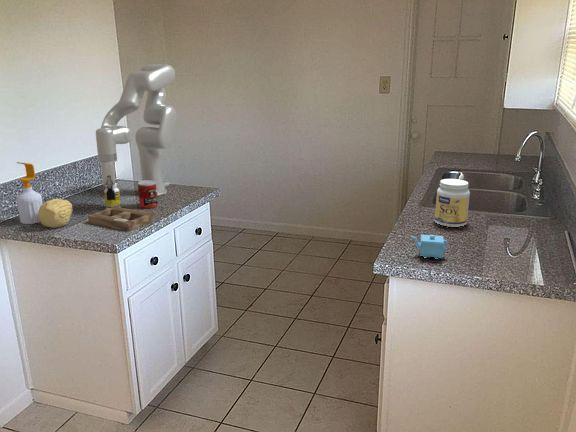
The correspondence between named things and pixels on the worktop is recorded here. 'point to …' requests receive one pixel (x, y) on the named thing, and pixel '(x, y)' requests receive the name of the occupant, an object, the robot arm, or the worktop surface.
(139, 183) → the canned food
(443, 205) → the supplement tub
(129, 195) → the worktop surface
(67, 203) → the sculpture
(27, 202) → the soap bottle
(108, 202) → the pill bottle
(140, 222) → the socket rack
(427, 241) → the teapot
